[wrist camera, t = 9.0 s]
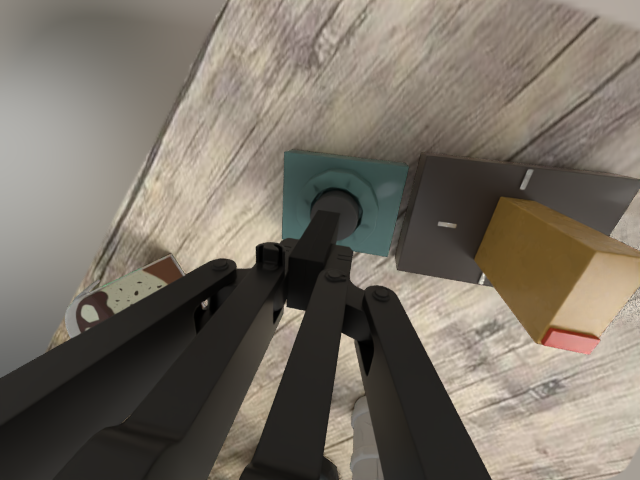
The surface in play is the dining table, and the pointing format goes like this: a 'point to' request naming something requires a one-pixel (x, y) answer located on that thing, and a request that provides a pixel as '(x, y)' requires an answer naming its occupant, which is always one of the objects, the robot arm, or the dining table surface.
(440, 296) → the dining table surface
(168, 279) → the food container
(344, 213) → the bell button
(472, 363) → the dining table surface
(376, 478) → the mug
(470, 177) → the lock plate
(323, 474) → the beer stein
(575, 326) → the lock knob
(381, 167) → the push button box
